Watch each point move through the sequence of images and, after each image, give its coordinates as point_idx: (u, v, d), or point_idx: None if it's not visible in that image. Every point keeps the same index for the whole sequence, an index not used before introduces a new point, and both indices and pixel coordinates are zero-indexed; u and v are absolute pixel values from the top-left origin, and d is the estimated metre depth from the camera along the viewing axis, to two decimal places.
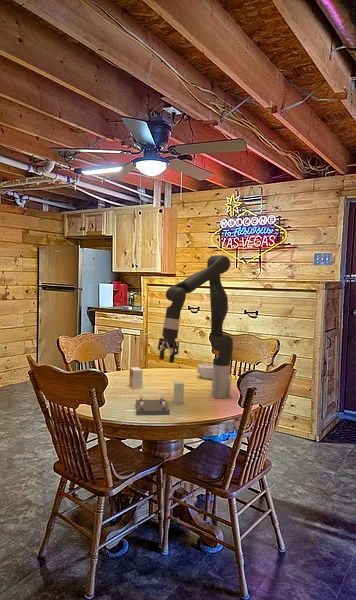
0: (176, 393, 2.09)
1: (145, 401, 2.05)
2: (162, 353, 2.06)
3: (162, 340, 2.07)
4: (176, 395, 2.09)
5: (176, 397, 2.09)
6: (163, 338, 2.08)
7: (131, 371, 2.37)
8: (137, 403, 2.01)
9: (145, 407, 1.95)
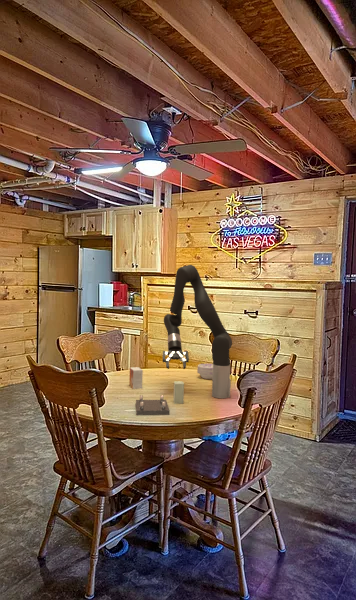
0: (176, 393, 2.09)
1: (145, 401, 2.05)
2: (183, 363, 2.26)
3: None
4: (176, 395, 2.09)
5: (176, 397, 2.09)
6: (186, 351, 2.30)
7: (131, 371, 2.37)
8: (137, 403, 2.01)
9: (145, 407, 1.95)
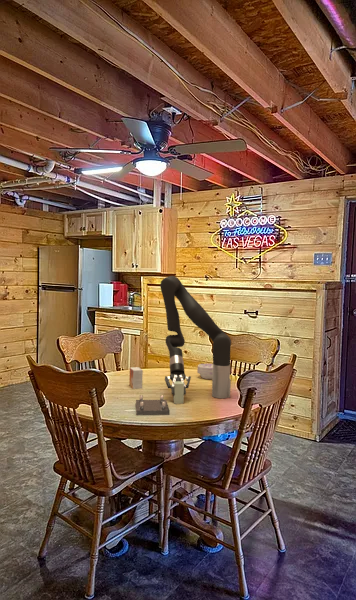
0: (176, 393, 2.09)
1: (145, 401, 2.05)
2: None
3: None
4: (176, 395, 2.09)
5: (176, 397, 2.09)
6: (189, 376, 2.17)
7: (131, 371, 2.37)
8: (137, 403, 2.01)
9: (145, 407, 1.95)
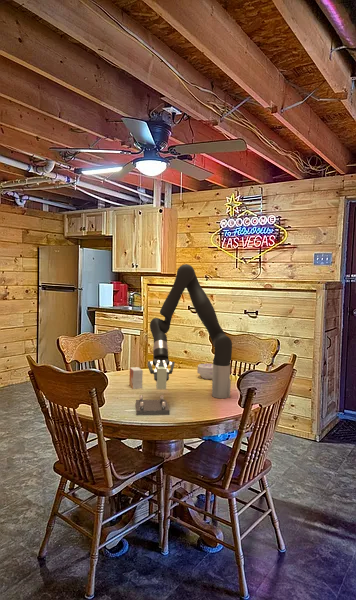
0: (158, 378, 2.01)
1: (145, 401, 2.05)
2: None
3: None
4: (158, 381, 2.01)
5: (159, 383, 2.01)
6: (173, 362, 2.09)
7: (131, 371, 2.37)
8: (137, 403, 2.01)
9: (145, 407, 1.95)
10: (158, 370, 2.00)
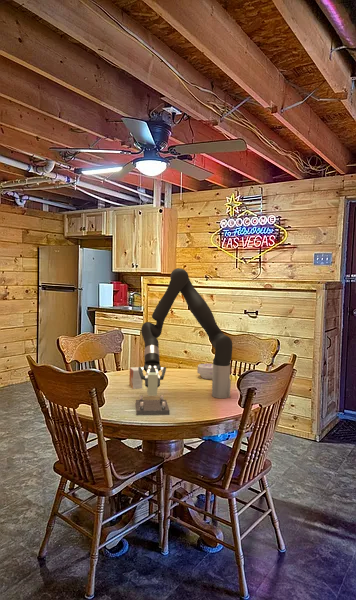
0: (149, 385, 1.96)
1: (145, 401, 2.05)
2: None
3: None
4: (149, 387, 1.96)
5: (150, 389, 1.96)
6: None
7: (131, 371, 2.37)
8: (137, 403, 2.01)
9: (145, 407, 1.95)
10: (149, 376, 1.96)
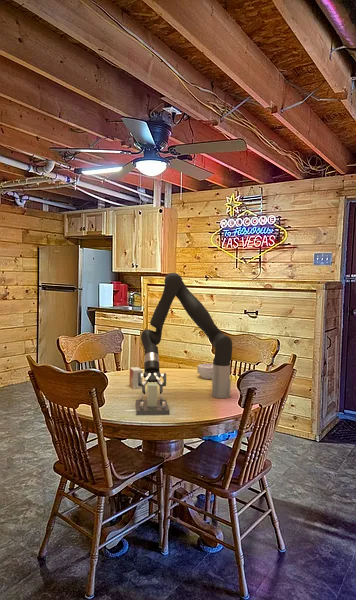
0: (149, 395, 1.97)
1: (145, 401, 2.05)
2: (159, 387, 2.00)
3: None
4: (149, 397, 1.97)
5: (149, 400, 1.97)
6: (164, 373, 2.05)
7: (131, 371, 2.37)
8: (137, 403, 2.01)
9: (145, 407, 1.95)
10: (148, 387, 1.96)
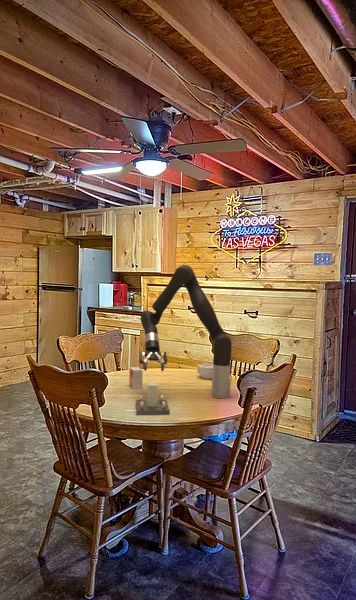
0: (149, 395, 1.97)
1: (145, 401, 2.05)
2: (161, 365, 2.13)
3: None
4: (149, 397, 1.97)
5: (149, 400, 1.97)
6: (164, 352, 2.18)
7: (131, 371, 2.37)
8: (137, 403, 2.01)
9: (145, 407, 1.95)
10: (148, 387, 1.96)
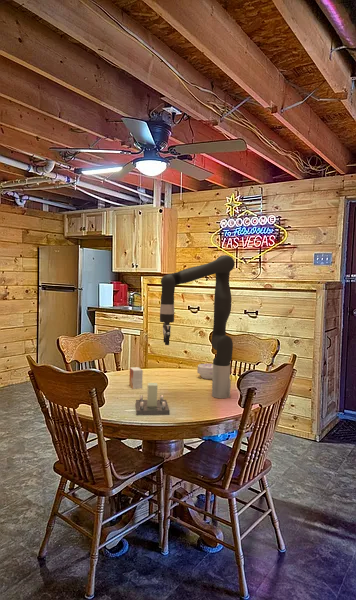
0: (149, 395, 1.97)
1: (145, 401, 2.05)
2: None
3: None
4: (149, 397, 1.97)
5: (149, 400, 1.97)
6: None
7: (131, 371, 2.37)
8: (137, 403, 2.01)
9: (145, 407, 1.95)
10: (148, 387, 1.96)
